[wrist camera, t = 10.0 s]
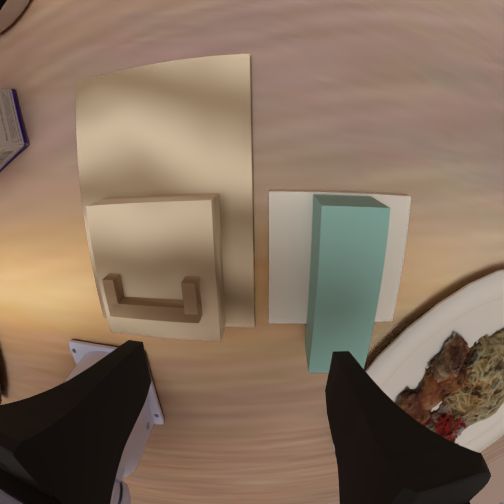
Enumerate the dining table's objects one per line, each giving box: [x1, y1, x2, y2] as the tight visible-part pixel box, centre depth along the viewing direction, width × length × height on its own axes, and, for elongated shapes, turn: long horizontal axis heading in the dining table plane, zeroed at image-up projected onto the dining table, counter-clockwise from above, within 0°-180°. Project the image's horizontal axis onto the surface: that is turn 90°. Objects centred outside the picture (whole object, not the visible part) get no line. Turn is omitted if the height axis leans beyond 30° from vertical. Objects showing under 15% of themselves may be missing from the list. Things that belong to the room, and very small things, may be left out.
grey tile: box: [269, 190, 411, 324], centre depth 20 cm, size 9×9×1 cm
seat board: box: [76, 54, 255, 342], centre depth 18 cm, size 18×12×4 cm, turn 1°
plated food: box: [333, 269, 504, 453], centre depth 23 cm, size 30×30×3 cm
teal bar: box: [305, 194, 390, 373], centre depth 18 cm, size 10×4×4 cm, turn 1°
